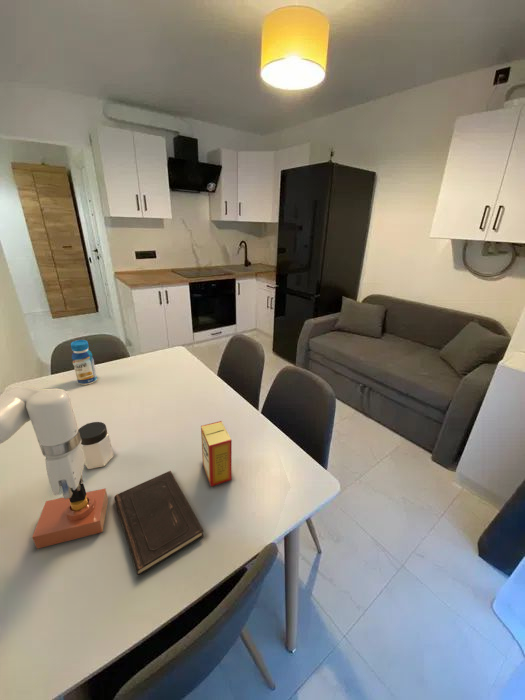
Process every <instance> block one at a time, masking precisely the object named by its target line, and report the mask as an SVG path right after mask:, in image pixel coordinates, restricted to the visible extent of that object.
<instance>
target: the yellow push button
mask: <svg viewBox="0 0 525 700" xmlns="http://www.w3.org/2000/svg"><path fill="white" fill-rule="evenodd" d="M87 504H88V500H87V496H85V500H81V501H77V502H73V503H71V502H70V505H71V508H72V510H73V511H79V510H81V509H83V508H85V507H86V506H87Z"/></svg>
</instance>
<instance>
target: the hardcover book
mask: <svg viewBox="0 0 525 700" xmlns="http://www.w3.org/2000/svg"><path fill="white" fill-rule="evenodd" d="M114 502H115V504H116V509H117V512H118V516H119V519H120V522H121V525H122V528H123V529H122V530H123V532H124V535H125V539H126V543H127V545H128V548H129V552H130V555H131V558H132V559H131V560H132V562H133V565H134V569H135V572H136V575H137V576H141V575H144V574H146V572H148V571H150V570H151V569H153V568H155V567H156V566H157V565H160V564H161V563H163V562H164V561H166V560H168V559H169V558H171V557H173V556H174V555H176V554H177V553H179V552H181V551H183V550H184V549H186V548H187V547H189V546H191V545H192V544H194V543H195V542H197V541H199V540H200V539H202V538H204V537H205V536H204V533H203V532H204V529H203V527H202V525H201V523H200V522H199V519H198V517H197V516H196V514H195V513H194V511H193V508H192V507H191V505H190V503H189V502H188V500H187V498H186V496H185V494H184V492H183V491H182V489H181V487H180V485H179V483H178V481H177V480H176V478H175V476H174V474H173V472H172V471H171V470H169V471H166V472H164V473H162V474H160V475H157V476H155V477H152V478H151V479H148V480H146V481H144V482H142V483H139V484H136V485H135V486H133V487H130V488H128V489H126V490H124V491H122V492H119V493H117V494H115V496H114Z"/></svg>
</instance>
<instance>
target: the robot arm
mask: <svg viewBox="0 0 525 700" xmlns="http://www.w3.org/2000/svg"><path fill="white" fill-rule="evenodd" d="M28 422H31V425H32V428H33V431H34V433H35V437H36V440H37V442H38V445H39V449H40V452H41V454H42V456H43V457H44V458H45V459H44V461H45V469H46V475H47V479H48V483H49V486H50V490H51V492H52V495H58V494H59V493H60V489H61V490H62V495H63V496H62V497H64V499H68V498H69V499H70V502H71V503H73V502H77V501H81V500H85V496H86V492H87V491H86V488H85V487H86V486H85V484H84V483H83V482H84V479H83V476H82V474H83V471H84V467H85V464H84V463H85V458H84V454H83V450H82V447H81V442H82V440H81V436H80V433H79V429H80V428H79V425H78V422H77V419H76V415H75V411H74V407H73V403H72V400H71V396H70V394H69V393H68V392H67V391H66V390H65V389H62V388H57V387H56V388H47V389H44V388H39V387H35V386H30V385H14V386H12V387H9V388H8V389H6V390H4V392H2V393H1V394H0V445H1V444H4V443H5V442H6V441H8V440H9V439H11V438H12V437H13V436H14V435H15V434H17V432H18V431H19V430H20V429H21V428H22V427H24V425H26V423H28Z"/></svg>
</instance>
